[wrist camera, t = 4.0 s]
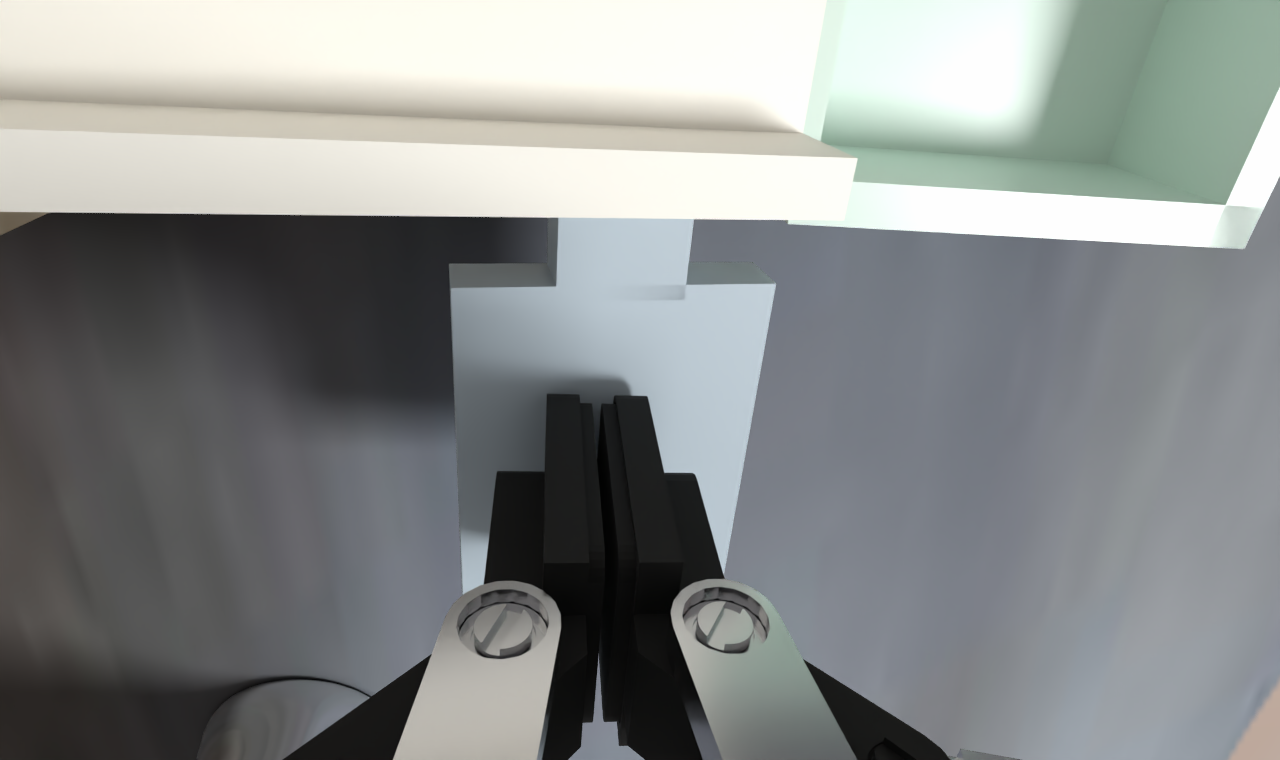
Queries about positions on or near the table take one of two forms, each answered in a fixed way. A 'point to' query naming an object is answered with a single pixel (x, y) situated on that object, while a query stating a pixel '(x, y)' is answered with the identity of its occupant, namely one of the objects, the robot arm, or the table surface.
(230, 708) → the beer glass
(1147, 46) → the tray
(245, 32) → the lever
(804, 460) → the table surface
